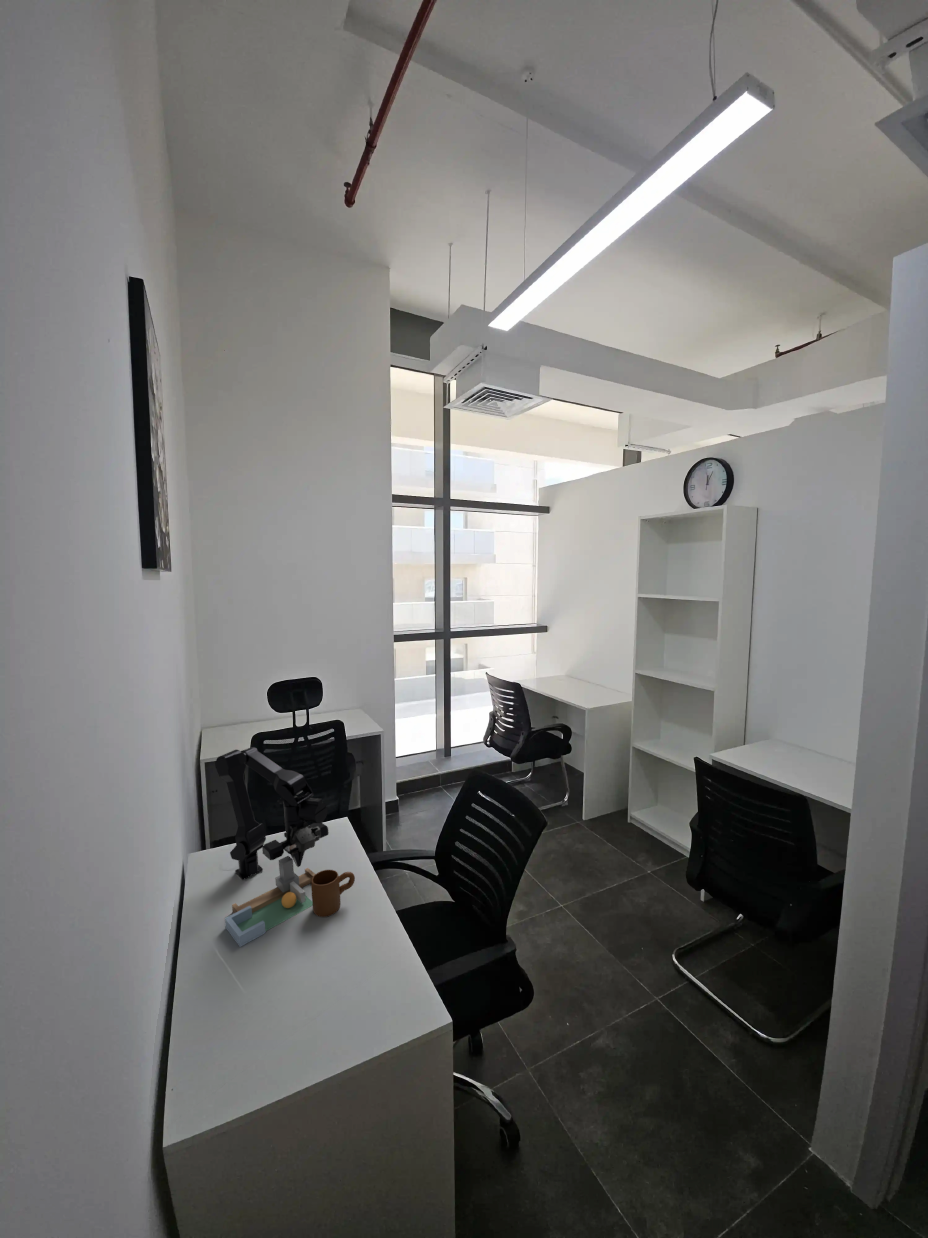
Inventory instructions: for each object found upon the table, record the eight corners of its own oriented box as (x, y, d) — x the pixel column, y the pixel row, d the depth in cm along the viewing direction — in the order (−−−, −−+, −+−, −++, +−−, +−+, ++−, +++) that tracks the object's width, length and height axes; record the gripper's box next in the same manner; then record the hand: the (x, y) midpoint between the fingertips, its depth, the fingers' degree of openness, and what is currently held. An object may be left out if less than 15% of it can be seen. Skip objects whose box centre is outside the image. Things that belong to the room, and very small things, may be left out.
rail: (232, 913, 136) (231, 905, 136) (308, 875, 153) (307, 867, 152) (239, 921, 133) (238, 913, 133) (316, 881, 149) (315, 874, 149)
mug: (354, 892, 143) (352, 862, 142) (358, 908, 136) (356, 877, 135) (311, 904, 139) (309, 873, 138) (314, 921, 132) (312, 889, 131)
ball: (279, 907, 138) (278, 894, 137) (292, 900, 141) (291, 887, 140) (285, 913, 135) (284, 900, 135) (299, 906, 138) (298, 893, 137)
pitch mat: (225, 927, 131) (225, 926, 131) (298, 889, 146) (298, 889, 146) (239, 946, 124) (239, 945, 124) (315, 904, 139) (315, 904, 139)
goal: (225, 928, 130) (224, 918, 130) (250, 915, 135) (249, 905, 135) (240, 947, 123) (239, 936, 123) (265, 933, 128) (264, 922, 128)
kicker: (276, 888, 145) (273, 860, 144) (291, 880, 149) (289, 853, 148) (295, 907, 136) (293, 877, 136) (311, 898, 140) (309, 869, 139)
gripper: (276, 839, 134) (280, 892, 135) (336, 814, 147) (339, 862, 148) (259, 826, 142) (263, 876, 143) (317, 803, 155) (321, 849, 156)
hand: (298, 866), depth 147 cm, fingers closed
